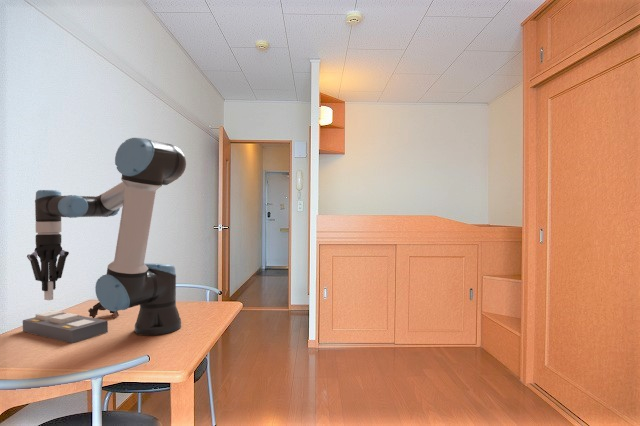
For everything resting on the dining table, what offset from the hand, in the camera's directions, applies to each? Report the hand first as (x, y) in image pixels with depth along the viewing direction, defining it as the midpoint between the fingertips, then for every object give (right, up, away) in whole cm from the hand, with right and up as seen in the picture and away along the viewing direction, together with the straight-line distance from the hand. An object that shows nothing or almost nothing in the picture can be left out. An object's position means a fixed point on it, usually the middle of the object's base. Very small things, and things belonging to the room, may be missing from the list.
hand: (48, 299), depth 136 cm
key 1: (0, -8, 0) cm, 8 cm away
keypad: (+9, -10, -4) cm, 14 cm away
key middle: (+9, -8, -4) cm, 12 cm away
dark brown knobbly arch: (+13, -11, +14) cm, 22 cm away
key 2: (+17, -9, -8) cm, 21 cm away
